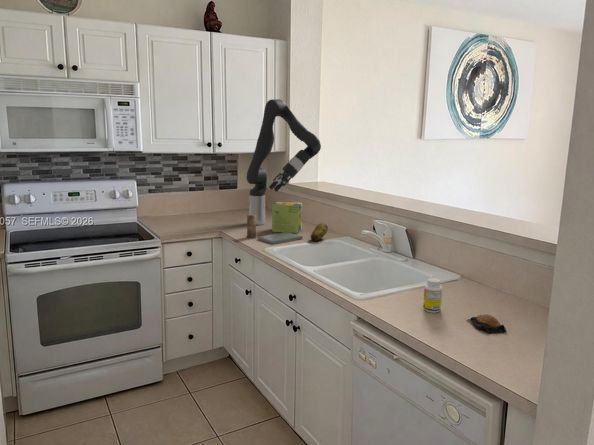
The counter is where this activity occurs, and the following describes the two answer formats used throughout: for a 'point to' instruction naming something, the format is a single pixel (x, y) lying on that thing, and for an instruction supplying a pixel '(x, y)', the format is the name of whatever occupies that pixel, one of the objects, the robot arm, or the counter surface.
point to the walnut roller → (251, 226)
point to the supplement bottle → (432, 295)
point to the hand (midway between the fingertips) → (272, 189)
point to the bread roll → (487, 324)
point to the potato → (319, 232)
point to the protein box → (287, 217)
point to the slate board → (280, 238)
